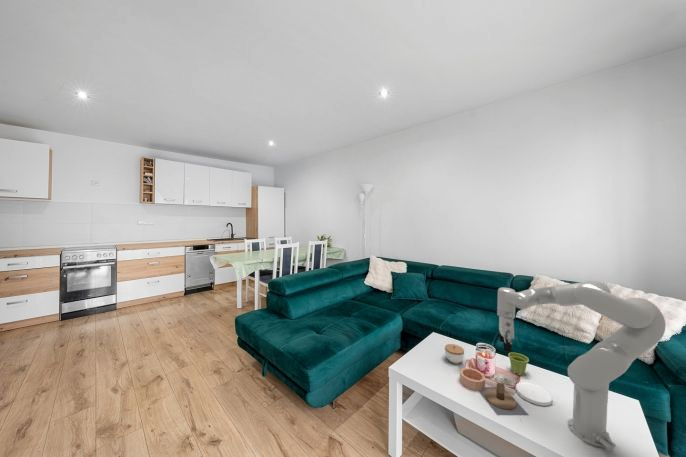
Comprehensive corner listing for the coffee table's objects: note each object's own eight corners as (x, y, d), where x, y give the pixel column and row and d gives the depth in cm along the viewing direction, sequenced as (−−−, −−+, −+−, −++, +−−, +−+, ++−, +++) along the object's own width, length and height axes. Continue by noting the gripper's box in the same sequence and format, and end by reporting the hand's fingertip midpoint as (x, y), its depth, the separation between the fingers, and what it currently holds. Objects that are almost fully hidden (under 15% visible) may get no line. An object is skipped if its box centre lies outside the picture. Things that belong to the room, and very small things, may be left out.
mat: (529, 416, 108) (529, 415, 108) (497, 415, 108) (497, 415, 108) (502, 387, 126) (502, 387, 126) (475, 387, 126) (475, 387, 126)
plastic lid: (514, 383, 130) (514, 379, 130) (548, 393, 123) (548, 388, 122) (517, 400, 118) (517, 395, 118) (555, 412, 111) (555, 407, 110)
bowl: (489, 391, 123) (489, 381, 123) (466, 391, 123) (466, 381, 123) (477, 376, 135) (477, 367, 135) (456, 376, 135) (456, 367, 135)
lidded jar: (440, 358, 153) (441, 343, 152) (453, 354, 157) (453, 339, 157) (455, 367, 143) (455, 352, 143) (468, 363, 147) (468, 348, 147)
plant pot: (532, 377, 134) (533, 361, 134) (515, 377, 134) (515, 361, 134) (520, 367, 144) (521, 352, 143) (504, 367, 144) (504, 352, 144)
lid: (522, 410, 111) (523, 394, 111) (495, 410, 111) (495, 394, 111) (504, 390, 123) (505, 376, 123) (479, 390, 123) (480, 376, 123)
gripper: (519, 320, 115) (518, 356, 115) (510, 308, 130) (509, 340, 131) (500, 318, 117) (499, 353, 118) (494, 306, 133) (493, 337, 134)
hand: (505, 346), depth 125 cm, fingers open, 9 cm apart
